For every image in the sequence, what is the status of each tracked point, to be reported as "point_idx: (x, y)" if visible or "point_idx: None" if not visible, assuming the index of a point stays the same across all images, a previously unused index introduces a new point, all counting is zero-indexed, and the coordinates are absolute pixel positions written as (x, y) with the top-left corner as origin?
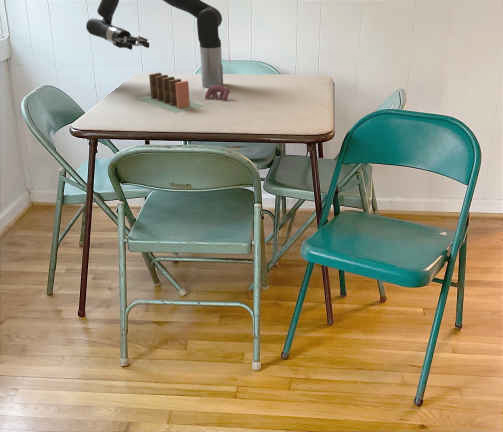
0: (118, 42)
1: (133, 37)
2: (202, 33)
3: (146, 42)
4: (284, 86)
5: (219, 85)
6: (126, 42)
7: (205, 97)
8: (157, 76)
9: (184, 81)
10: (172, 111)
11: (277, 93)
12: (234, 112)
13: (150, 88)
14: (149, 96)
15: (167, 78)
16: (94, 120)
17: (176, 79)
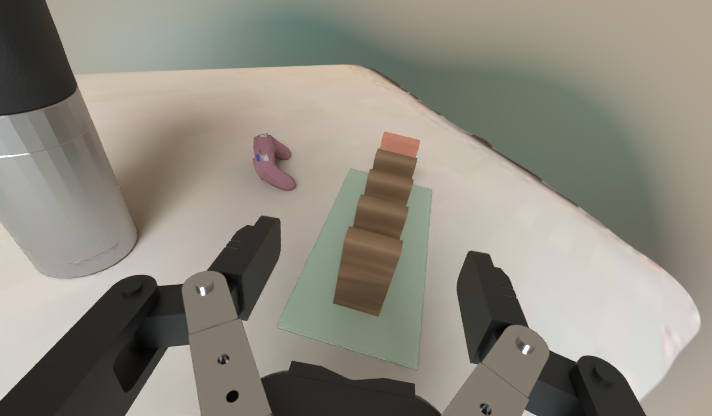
0: (627, 402)
1: (259, 406)
2: (29, 7)
3: (270, 229)
4: (92, 115)
5: (268, 139)
6: (506, 319)
7: (295, 184)
8: (401, 210)
9: (392, 136)
10: (430, 197)
11: (174, 113)
12: (348, 129)
13: (386, 292)
14: (363, 341)
15: (398, 176)
16: (640, 306)
17: (389, 155)
